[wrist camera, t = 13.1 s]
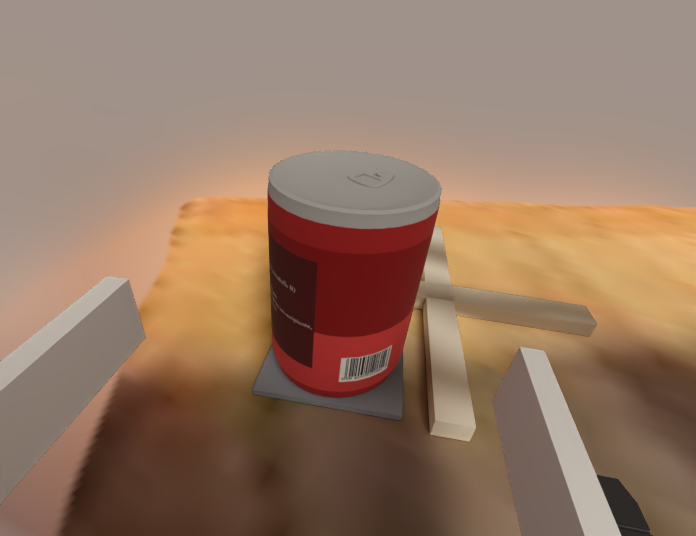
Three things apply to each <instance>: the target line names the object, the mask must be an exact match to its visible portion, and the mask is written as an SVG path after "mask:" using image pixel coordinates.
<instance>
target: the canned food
mask: <svg viewBox="0 0 696 536" xmlns="http://www.w3.org/2000/svg"><path fill="white" fill-rule="evenodd" d="M441 189H442V188H441V186H440V183H439V182H438V181H437V179H436V178H435V177H434V176H433V175H431V174H430V173H428V172H427V171H425V170H424V169H422V168H419V167H418V166H416V165H414V164H411V163H409V162H406V161H403V160H400V159H396V158H393V157H389V156H384V155H380V154H373V153H367V152H358V151H318V152H310V153H304V154H300V155H296V156H292V157H289V158H287V159H285V160H282V161H280V162H279V163H277V164H276V165H274V166H273V167H272V169H271V170H270V172H269V183H268V234H269V262H270V289H271V316H272V343H273V350H274V355H275V357H276V359H277V361H278V363H279V365H280V367H281V369H282V371H283V373H284V374H285V375H286V376H287V377H288V379H289V380H290V381H291V382H293V383H294V384H295V385H297V386H298V387H299V388H301V389H303V390H305V391H308V392H310V393H312V394H316V395H320V396H324V397H334V398H342V397H352V396H356V395H360V394H363V393H366V392H368V391H370V390H372V389H374V388H376V387H377V386H378V385H380V384H381V383H382V382H384V381H385V379H386V378H387V377H388V376H389V375H390V373H391V372H392V371H393V370H394V368H395V367H396V366H397V364H398V362H399V360H400V358H401V354H402V351H403V347H404V343H405V339H406V335H407V331H408V327H409V324H410V320H411V316H412V312H413V308H414V304H415V300H416V297H417V293H418V289H419V285H420V281H421V277H422V273H423V270H424V266H425V262H426V258H427V254H428V250H429V246H430V243H431V239H432V235H433V231H434V226H435V221H436V217H437V213H438V209H439V204H440V195H441Z"/></svg>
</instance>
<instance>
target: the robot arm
mask: <svg viewBox="0 0 696 536" xmlns="http://www.w3.org/2000/svg"><path fill="white" fill-rule="evenodd" d="M145 338H146V336H145V333H144V330H143V326H142V323H141V319H140V316H139V313H138V309H137V306H136V302H135V299H134V296H133V293H132V289H131V286H130V282H129V279H124V278H119V277H113V276H107V277H105V278H104V279H103V280H101V281H100V282H99V283H98V284H96V285H95V286H94V287H93V288H91V289H90V290H89V291H88V292H86V293H85V294H84V295H83V296H81V297H80V298H79V299H78V300H76V301H75V302H74V303H73V304H71V305H70V306H69V307H68V308H66V309H65V310H64V311H63V312H61V313H60V314H59V315H58V316H57V317H56V318H54V319H53V320H51V321H50V322H49V323H48V324H47V325H45V326H44V327H43V328H42V329H40V330H39V331H38V332H36V333H35V334H34V335H33V336H31V337H30V338H29V339H28V340H26V341H25V342H24V343H23V344H21V345H20V346H19V347H18V348H16V349H15V350H14V351H13V352H12V353H10V354H9V355H8V356H6V357H5V358H4V359H3V360H1V361H0V504H1V503H2V502H3V501H4V500H5V499H6V497H7V496H8V495H9V494H10V493H11V492H12V490H13V489H14V488H15V487H16V486H17V485H18V484H19V482H20V481H21V480H22V479H23V478H24V477H25V476H26V474H27V473H28V472H29V471H30V470H31V469H32V467H33V466H34V465H35V464H36V463H37V462H38V461H39V459H40V458H41V457H42V456H43V455H44V454H45V453H46V451H47V450H48V449H49V448H50V447H51V446H52V445H53V443H54V442H55V441H56V440H57V439H58V437H60V435H61V434H62V433H63V432H64V431H65V430H66V428H67V427H68V426H69V425H70V424H71V422H72V421H73V420H74V419H75V418H76V417H77V416H78V415H79V414H80V412H81V411H82V410H83V409H84V408H85V406H86V405H87V404H88V403H89V402H90V401H91V399H92V398H93V397H94V396H95V395H96V394H97V393H98V392H99V391H100V389H101V388H102V387H103V386H104V385H105V384H106V383H107V381H108V380H109V379H110V378H111V377H112V376H113V375H114V373H115V372H116V371H117V370H118V369H119V368H120V366H121V365H122V364H123V363H124V362H125V361H126V360H127V358H128V357H129V356H130V355H131V354H132V353H133V352H134V350H135V349H136V348H137V347H138V346H139V345H140V343H141V342H142V341H143V340H144V339H145ZM492 402H493V407H494V411H495V416H496V420H497V425H498V429H499V434H500V439H501V443H502V448H503V452H504V457H505V462H506V466H507V471H508V475H509V480H510V485H511V489H512V494H513V498H514V503H515V507H516V512H517V517H518V521H519V526H520V530H521V535H522V536H653V535H651V534H650V532H649V531H650V529H649V527H648V525H647V523H646V521H645V519H644V516H643V514H642V512H641V510H640V508H639V506H638V504H637V502H636V501H635V500H634V499H633V497H632V496H631V495H630V494H629V492H628V491H627V490H626V489H625V487H624V486H623V485H622V484H621V482H620V481H619V480H618V479H615V478H610V477H604V476H599V475H596V473H595V471H594V468H593V466H592V464H591V461H590V459H589V456H588V454H587V452H586V449H585V447H584V444H583V442H582V440H581V437H580V435H579V432H578V430H577V428H576V425H575V423H574V420H573V418H572V416H571V413H570V411H569V408H568V406H567V404H566V401H565V399H564V396H563V394H562V392H561V389H560V387H559V384H558V382H557V380H556V377H555V375H554V372H553V370H552V368H551V365H550V363H549V360H548V358H547V355H546V353H545V351H543V350H537V349H531V348H525V347H519V349H518V351H517V353H516V355H515V357H514V359H513V361H512V363H511V365H510V367H509V369H508V371H507V373H506V375H505V377H504V379H503V381H502V383H501V385H500V387H499V389H498V391H497V393H496V395H495V397H494V399H493V400H492Z"/></svg>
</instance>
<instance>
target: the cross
mask: <svg viewBox="0 0 696 536" xmlns="http://www.w3.org/2000/svg"><path fill="white" fill-rule="evenodd" d="M414 309H421V310H423V322H424V340H425V357H426V374H427V392H428V409H429V426H430V435H435V436H441V437H446V438H452V439H457V440H463V441H468V442H469V441H470V439H471V437H472V435H473V433H474V431H475V429H476V424H475V418H474V412H473V407H472V401H471V395H470V390H469V384H468V378H467V372H466V367H465V361H464V355H463V350H462V344H461V338H460V332H459V327H458V321H457V315H458V316H465V317H471V318H477V319H483V320H490V321H496V322H502V323H508V324H515V325H521V326H527V327H534V328H540V329H546V330H552V331H559V332H565V333H571V334H578V335H584V336H590V335H591V333H592V331H593V330H594V328H595V327H596V325H597V323H596V321H595V320H594V318H593V317H592V315H591V314H590V312H589V311H588V309H587V307H586V306H582V305H575V304H569V303H562V302H556V301H549V300H543V299H536V298H530V297H524V296H517V295H511V294H504V293H498V292H491V291H485V290H478V289H472V288H465V287H459V286H452V285H451V281H450V275H449V270H448V264H447V258H446V252H445V247H444V241H443V235H442V230H441V227H440V226H434V231H433V235H432V239H431V243H430V246H429V250H428V254H427V258H426V262H425V266H424V270H423V273H422V277H421V281H420V285H419V289H418V293H417V297H416V300H415V304H414ZM402 393H403V351H402V354H401V358H400V360H399V362H398V364H397V366H396V367H395V368H394V370H393V371H392V372H391V373H390V375H389V376H388V377H387V378H386V379H385V381H384V382H382V383H381V384H380V385H378V386H377V387H376V388H374V389H372V390H370V391H368V392H366V393H363V394H360V395H356V396H352V397H342V398H334V397H324V396H320V395H316V394H312V393H310V392H308V391H305V390H303V389H301V388H299V387H298V386H297V385H295V384H294V383H293V382H291V381H290V380H289V379H288V377H287V376H286V375H285V374H284V373H283V371H282V369H281V367H280V365H279V363H278V361H277V359H276V357H275V355H274V350H273V343H272V345H271V348H270V350H269V352H268V355H267V357H266V359H265V362H264V364H263V366H262V369H261V371H260V373H259V376H258V378H257V380H256V383H255V385H254V387H253V394H254V395H260V396H265V397H271V398H277V399H282V400H288V401H293V402H299V403H305V404H310V405H316V406H321V407H327V408H333V409H338V410H344V411H349V412H355V413H361V414H366V415H372V416H378V417H383V418H389V419H394V420H400V421H401V419H402Z"/></svg>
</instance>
